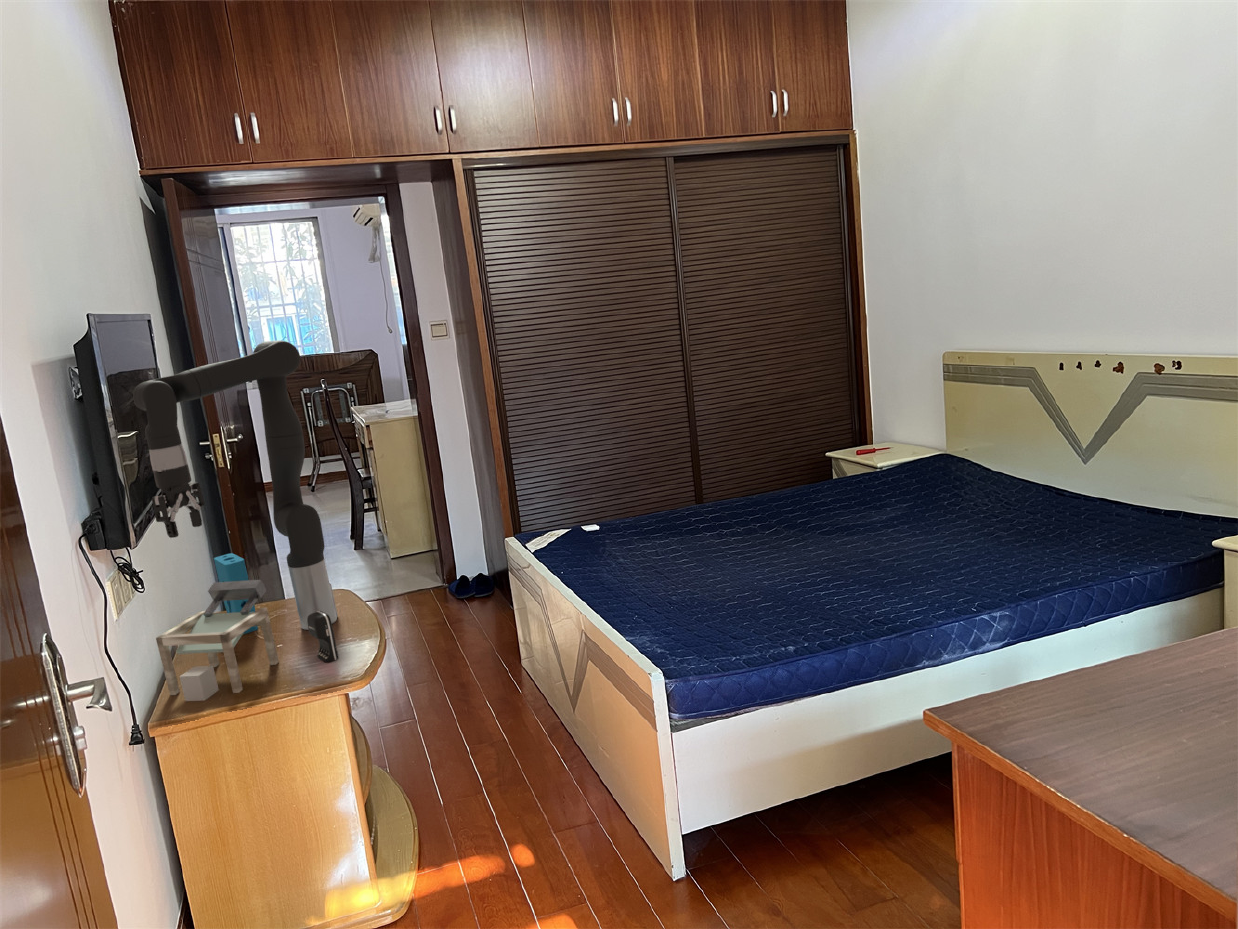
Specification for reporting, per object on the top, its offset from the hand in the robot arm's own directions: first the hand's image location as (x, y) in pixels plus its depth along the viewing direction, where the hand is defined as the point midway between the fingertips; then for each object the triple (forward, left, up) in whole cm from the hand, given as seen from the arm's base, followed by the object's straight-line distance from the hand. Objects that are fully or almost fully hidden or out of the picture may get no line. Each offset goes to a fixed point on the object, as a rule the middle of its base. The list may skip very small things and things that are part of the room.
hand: (185, 531), depth 215 cm
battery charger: (-1, +29, -34) cm, 45 cm away
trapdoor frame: (+8, +8, -34) cm, 36 cm away
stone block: (+17, +8, -28) cm, 34 cm away
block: (-23, -8, -34) cm, 42 cm away
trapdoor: (+4, +8, -22) cm, 24 cm away
